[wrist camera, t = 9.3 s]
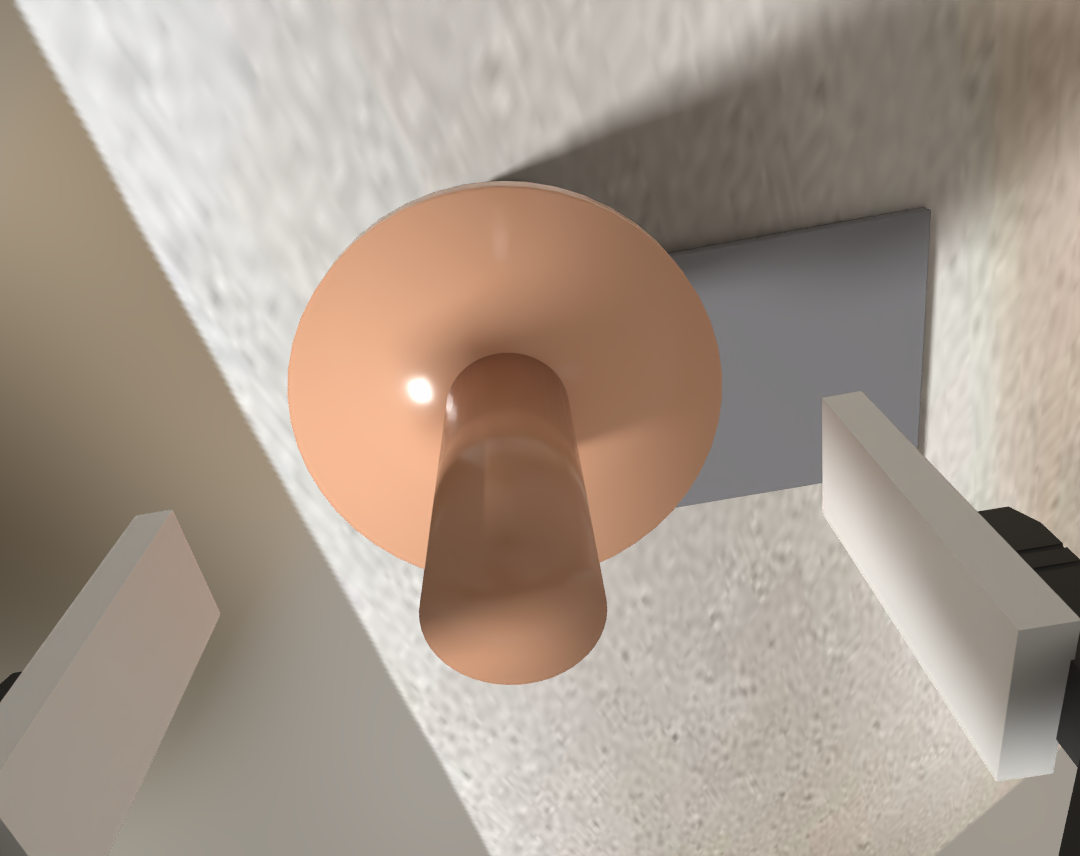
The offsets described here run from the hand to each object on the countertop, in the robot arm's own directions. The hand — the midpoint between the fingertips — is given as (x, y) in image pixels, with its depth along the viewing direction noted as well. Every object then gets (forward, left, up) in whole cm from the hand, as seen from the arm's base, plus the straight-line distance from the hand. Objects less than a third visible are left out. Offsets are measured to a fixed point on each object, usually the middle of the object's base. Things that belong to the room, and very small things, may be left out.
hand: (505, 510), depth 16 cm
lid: (0, 0, -6) cm, 6 cm away
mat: (+8, +12, -21) cm, 26 cm away
